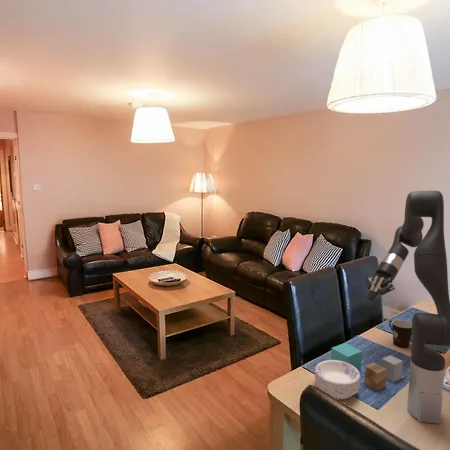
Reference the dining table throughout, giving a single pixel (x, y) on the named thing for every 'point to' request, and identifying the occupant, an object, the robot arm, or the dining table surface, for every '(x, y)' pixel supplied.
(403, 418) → the dining table surface
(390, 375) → the slate-grey block
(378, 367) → the walnut block
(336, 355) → the teal block
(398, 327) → the coffee mug
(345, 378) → the paper bowls
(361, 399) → the dining table surface
